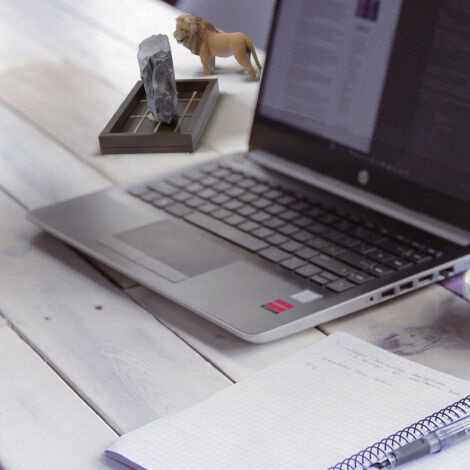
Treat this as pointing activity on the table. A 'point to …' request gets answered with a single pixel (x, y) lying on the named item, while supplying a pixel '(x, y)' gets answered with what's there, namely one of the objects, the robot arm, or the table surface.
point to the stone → (159, 77)
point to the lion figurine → (214, 44)
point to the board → (155, 132)
